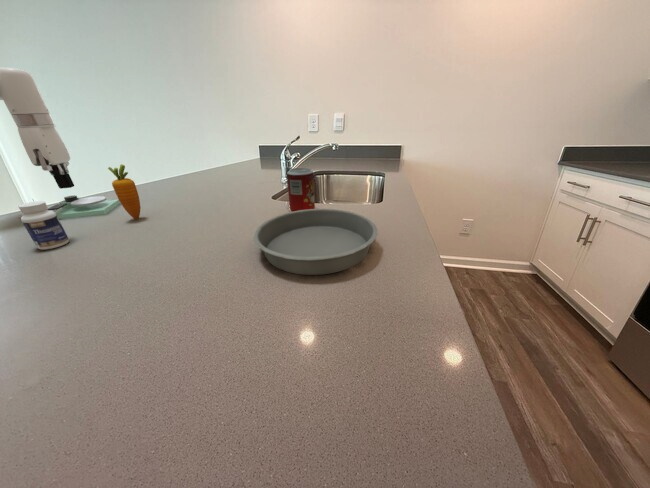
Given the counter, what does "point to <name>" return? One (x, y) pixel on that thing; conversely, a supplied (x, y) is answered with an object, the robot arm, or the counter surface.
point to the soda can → (301, 189)
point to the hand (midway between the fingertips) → (67, 187)
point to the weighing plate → (88, 201)
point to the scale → (85, 209)
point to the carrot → (126, 192)
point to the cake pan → (316, 240)
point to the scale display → (57, 206)
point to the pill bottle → (43, 225)
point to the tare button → (70, 198)
